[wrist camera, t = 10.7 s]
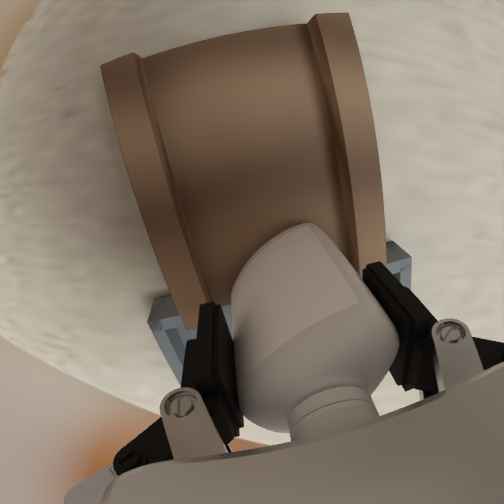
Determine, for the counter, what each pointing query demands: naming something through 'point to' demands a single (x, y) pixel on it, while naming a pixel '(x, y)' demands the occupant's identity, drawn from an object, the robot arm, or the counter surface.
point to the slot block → (248, 150)
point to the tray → (175, 335)
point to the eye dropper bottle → (307, 337)
